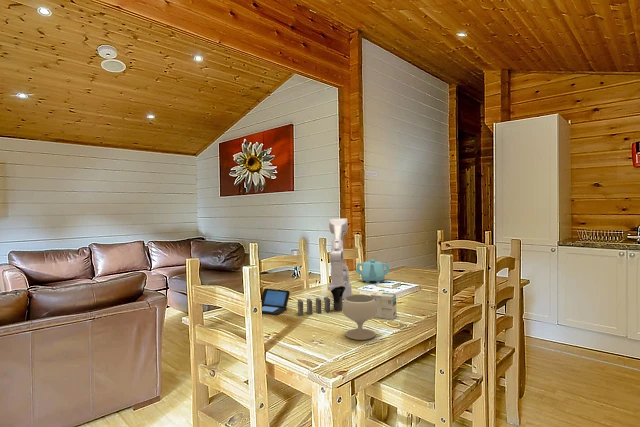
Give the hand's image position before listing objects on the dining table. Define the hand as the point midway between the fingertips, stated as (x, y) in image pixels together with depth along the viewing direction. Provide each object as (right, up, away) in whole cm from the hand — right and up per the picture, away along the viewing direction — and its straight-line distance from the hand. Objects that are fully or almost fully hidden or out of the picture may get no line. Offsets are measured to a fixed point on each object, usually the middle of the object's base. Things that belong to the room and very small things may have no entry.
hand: (337, 301), depth 185 cm
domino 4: (-5, -4, -1) cm, 7 cm away
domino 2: (-14, -5, -4) cm, 15 cm away
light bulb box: (+21, -4, -12) cm, 24 cm away
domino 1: (-18, -5, -5) cm, 19 cm away
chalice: (+7, -6, -34) cm, 35 cm away
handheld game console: (-34, -5, +3) cm, 34 cm away
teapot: (+26, -1, +58) cm, 64 cm away
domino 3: (-10, -4, -3) cm, 11 cm away
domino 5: (0, -4, 0) cm, 4 cm away
